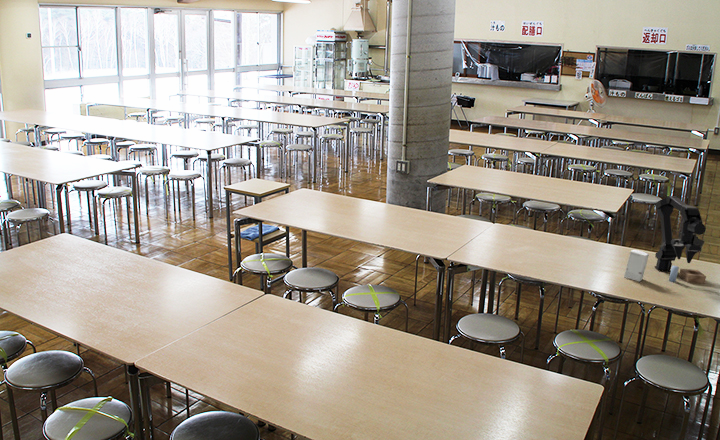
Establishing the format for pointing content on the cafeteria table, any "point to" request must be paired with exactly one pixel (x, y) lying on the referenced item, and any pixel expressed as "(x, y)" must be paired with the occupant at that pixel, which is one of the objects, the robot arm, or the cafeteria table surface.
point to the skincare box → (636, 265)
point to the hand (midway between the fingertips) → (683, 261)
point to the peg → (673, 273)
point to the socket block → (692, 276)
